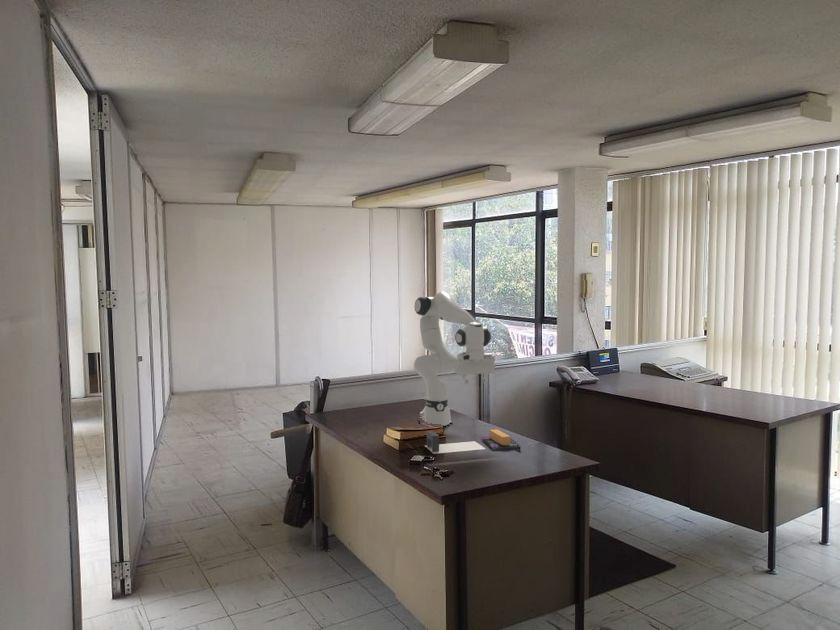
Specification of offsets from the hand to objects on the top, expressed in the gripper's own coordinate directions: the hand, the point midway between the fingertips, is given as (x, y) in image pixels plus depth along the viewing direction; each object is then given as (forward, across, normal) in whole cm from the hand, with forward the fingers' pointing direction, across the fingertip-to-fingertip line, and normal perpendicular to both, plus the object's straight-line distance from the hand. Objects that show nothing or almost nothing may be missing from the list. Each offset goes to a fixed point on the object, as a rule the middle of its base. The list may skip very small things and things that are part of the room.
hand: (475, 382), depth 305 cm
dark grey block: (+28, +26, +12) cm, 40 cm away
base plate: (+29, +15, +12) cm, 35 cm away
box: (+30, -8, +14) cm, 34 cm away
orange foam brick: (+27, -7, +14) cm, 31 cm away
